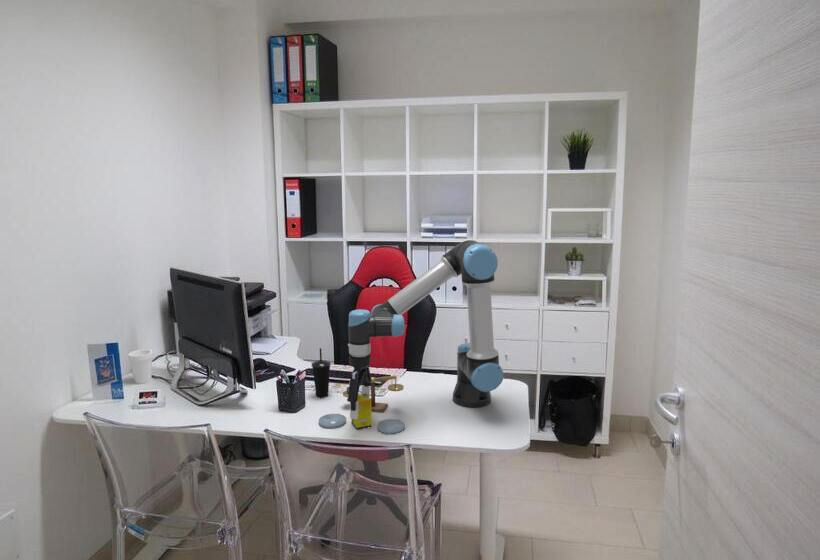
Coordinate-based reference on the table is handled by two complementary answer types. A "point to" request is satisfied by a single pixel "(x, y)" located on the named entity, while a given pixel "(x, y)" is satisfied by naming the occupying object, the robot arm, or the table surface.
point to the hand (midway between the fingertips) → (360, 410)
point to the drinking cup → (321, 376)
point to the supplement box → (363, 412)
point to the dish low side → (332, 421)
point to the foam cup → (141, 365)
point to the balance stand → (376, 406)
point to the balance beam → (391, 387)
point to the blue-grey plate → (391, 426)
